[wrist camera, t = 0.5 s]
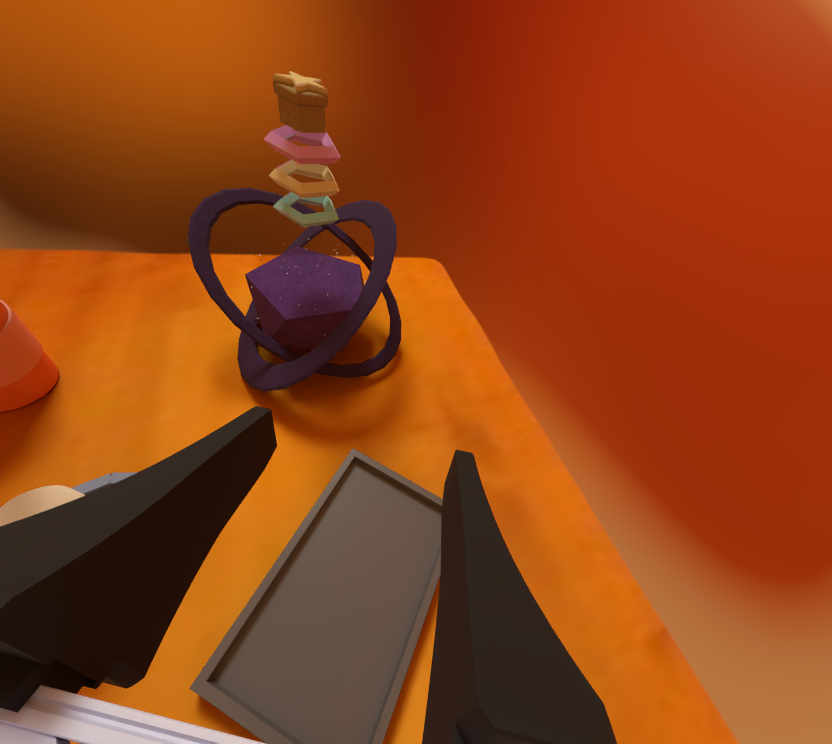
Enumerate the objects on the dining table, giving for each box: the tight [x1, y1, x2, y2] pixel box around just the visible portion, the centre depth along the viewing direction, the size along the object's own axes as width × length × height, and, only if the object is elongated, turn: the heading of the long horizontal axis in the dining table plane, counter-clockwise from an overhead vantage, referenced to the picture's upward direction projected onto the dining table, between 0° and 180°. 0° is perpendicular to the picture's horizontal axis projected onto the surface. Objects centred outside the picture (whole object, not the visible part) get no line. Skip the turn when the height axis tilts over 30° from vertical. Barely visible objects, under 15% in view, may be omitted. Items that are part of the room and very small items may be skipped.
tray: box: [190, 448, 443, 744], centre depth 24 cm, size 18×12×2 cm, turn 155°
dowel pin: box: [0, 485, 85, 526], centre depth 19 cm, size 4×4×8 cm
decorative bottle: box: [188, 71, 401, 392], centre depth 30 cm, size 22×21×25 cm
